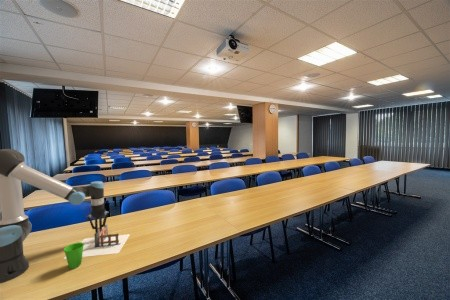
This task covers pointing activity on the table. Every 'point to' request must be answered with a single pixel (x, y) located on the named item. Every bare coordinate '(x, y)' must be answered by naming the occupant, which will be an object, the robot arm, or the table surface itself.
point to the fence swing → (103, 232)
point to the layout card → (91, 250)
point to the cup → (74, 254)
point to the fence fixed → (105, 241)
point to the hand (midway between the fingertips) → (98, 237)
